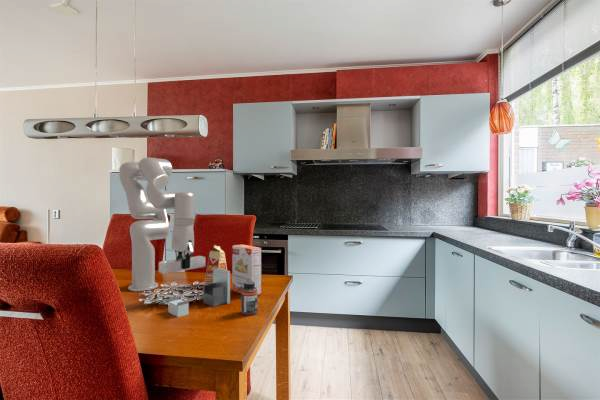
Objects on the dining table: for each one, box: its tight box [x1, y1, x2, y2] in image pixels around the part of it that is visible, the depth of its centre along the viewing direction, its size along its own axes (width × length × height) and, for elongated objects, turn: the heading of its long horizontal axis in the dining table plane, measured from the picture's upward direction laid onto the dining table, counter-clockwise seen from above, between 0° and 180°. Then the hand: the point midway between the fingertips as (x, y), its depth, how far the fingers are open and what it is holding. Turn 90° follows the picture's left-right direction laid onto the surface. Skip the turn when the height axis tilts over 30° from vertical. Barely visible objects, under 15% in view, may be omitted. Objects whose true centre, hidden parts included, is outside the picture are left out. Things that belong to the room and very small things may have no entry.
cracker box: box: [231, 243, 262, 296], centre depth 140 cm, size 14×6×21 cm, turn 47°
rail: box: [158, 255, 206, 275], centre depth 127 cm, size 4×18×4 cm, turn 139°
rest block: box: [167, 296, 190, 318], centre depth 114 cm, size 7×4×5 cm, turn 49°
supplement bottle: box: [240, 281, 259, 316], centre depth 115 cm, size 6×6×11 cm
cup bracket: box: [202, 267, 231, 308], centre depth 126 cm, size 10×7×13 cm
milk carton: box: [203, 244, 228, 285], centre depth 151 cm, size 9×9×20 cm
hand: (182, 267), depth 127 cm, fingers closed on rail, 4 cm apart
